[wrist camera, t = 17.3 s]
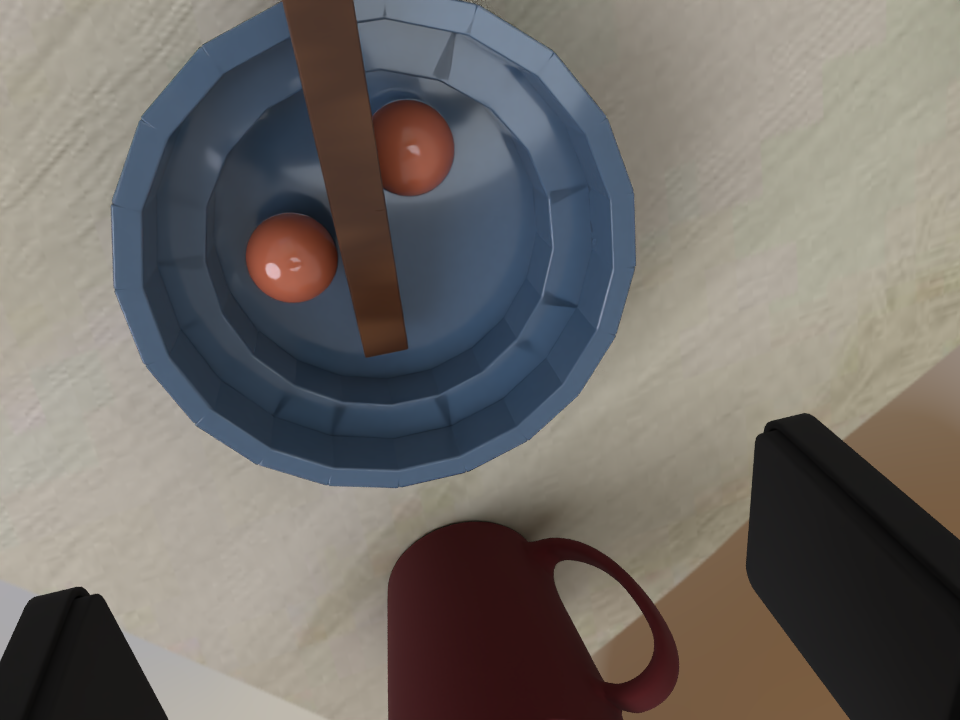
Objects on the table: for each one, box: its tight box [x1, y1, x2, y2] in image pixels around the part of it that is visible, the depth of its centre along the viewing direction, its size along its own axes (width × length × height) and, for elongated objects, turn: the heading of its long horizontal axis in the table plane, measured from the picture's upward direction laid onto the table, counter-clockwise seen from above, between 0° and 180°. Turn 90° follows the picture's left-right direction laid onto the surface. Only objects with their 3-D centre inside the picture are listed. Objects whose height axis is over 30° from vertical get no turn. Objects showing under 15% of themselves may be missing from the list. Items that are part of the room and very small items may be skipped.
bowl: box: [111, 0, 636, 488], centre depth 24 cm, size 16×16×5 cm
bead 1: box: [245, 212, 339, 304], centre depth 24 cm, size 3×3×3 cm
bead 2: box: [372, 99, 455, 197], centre depth 23 cm, size 3×3×3 cm
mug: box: [388, 522, 679, 720], centre depth 30 cm, size 12×9×11 cm
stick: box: [282, 0, 408, 358], centre depth 19 cm, size 2×2×20 cm
